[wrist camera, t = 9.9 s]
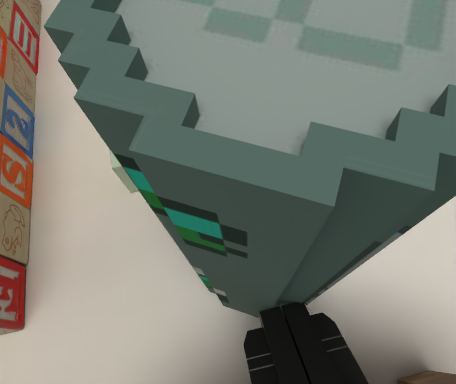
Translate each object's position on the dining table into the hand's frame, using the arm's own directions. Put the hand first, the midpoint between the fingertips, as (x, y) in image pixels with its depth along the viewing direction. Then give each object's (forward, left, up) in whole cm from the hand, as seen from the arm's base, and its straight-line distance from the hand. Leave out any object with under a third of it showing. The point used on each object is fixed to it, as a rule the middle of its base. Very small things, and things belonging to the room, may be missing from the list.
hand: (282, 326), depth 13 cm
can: (0, +4, -5) cm, 6 cm away
